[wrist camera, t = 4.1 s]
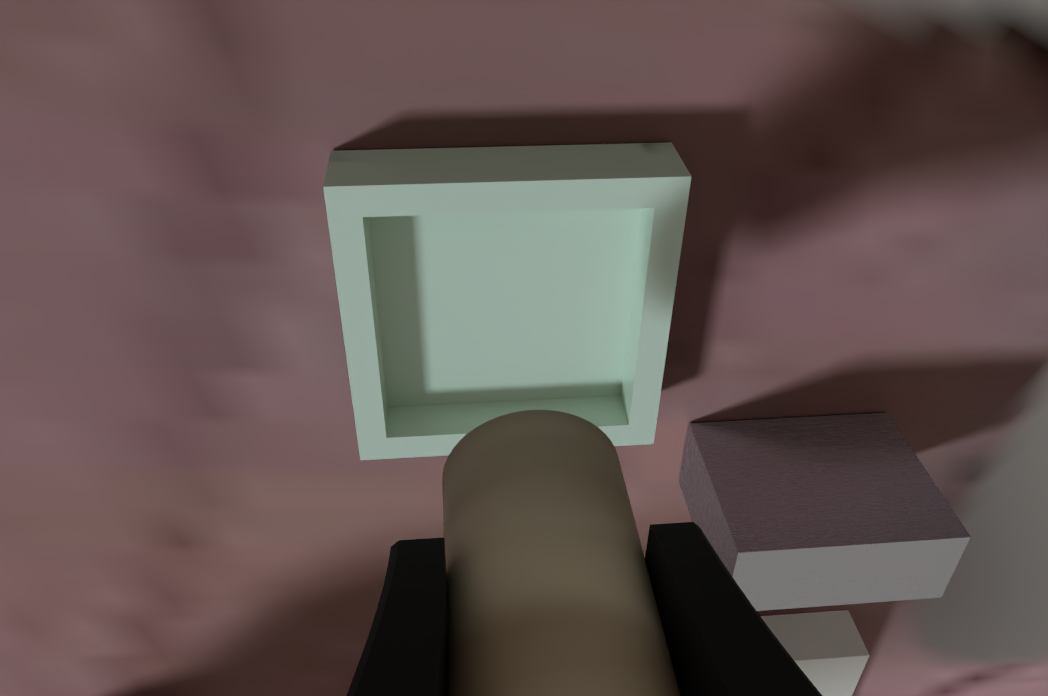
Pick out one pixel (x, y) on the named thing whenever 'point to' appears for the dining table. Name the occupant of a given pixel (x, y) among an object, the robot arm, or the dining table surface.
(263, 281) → the dining table surface
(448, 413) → the tray
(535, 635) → the dowel
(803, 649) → the tile
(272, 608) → the dining table surface
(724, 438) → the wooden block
